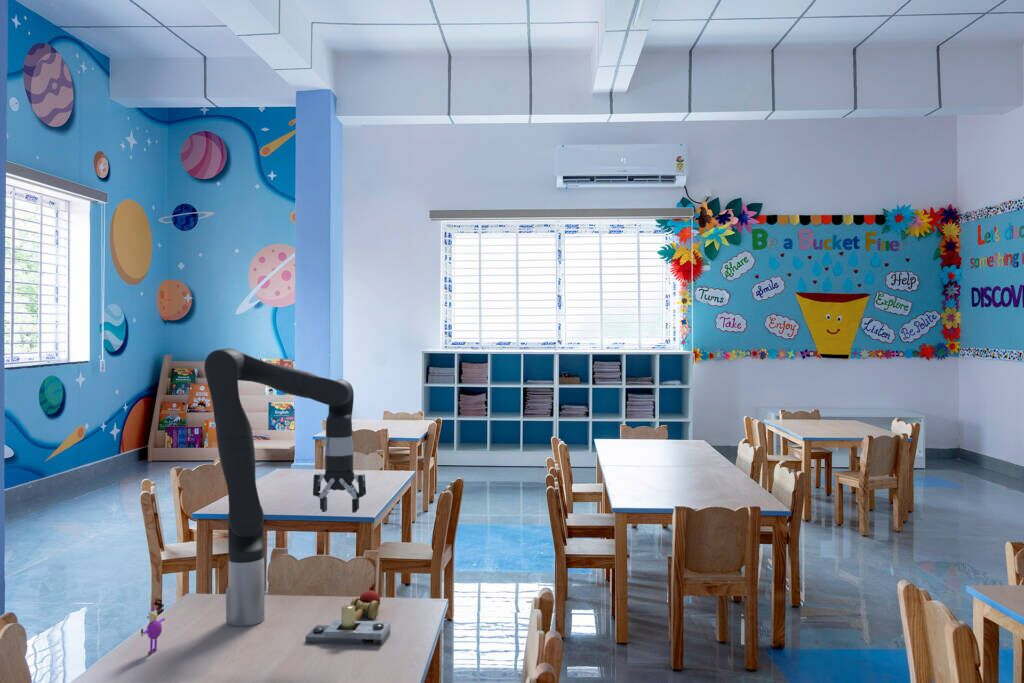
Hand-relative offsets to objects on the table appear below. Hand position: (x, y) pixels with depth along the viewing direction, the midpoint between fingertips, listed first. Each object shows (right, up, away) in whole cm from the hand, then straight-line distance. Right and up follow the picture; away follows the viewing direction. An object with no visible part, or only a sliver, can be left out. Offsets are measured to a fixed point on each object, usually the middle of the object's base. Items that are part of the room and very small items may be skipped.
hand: (339, 511), depth 210 cm
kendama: (+6, -31, +2) cm, 31 cm away
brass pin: (+5, -30, -12) cm, 33 cm away
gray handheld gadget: (+5, -30, -12) cm, 33 cm away
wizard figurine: (-42, -31, -20) cm, 55 cm away
